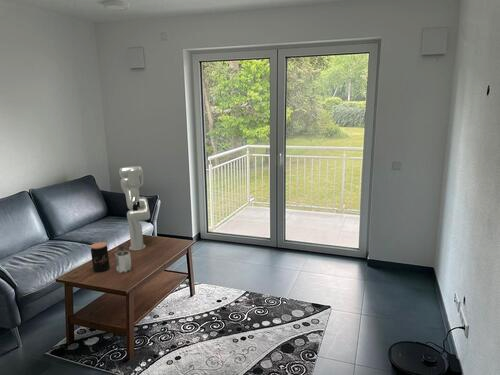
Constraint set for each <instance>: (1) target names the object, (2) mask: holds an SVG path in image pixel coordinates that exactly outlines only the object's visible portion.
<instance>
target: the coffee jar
mask: <svg viewBox="0 0 500 375" xmlns="http://www.w3.org/2000/svg"><path fill="white" fill-rule="evenodd" d="M90 254H91V262H92V269H93V271H94V272H96V273H103V272H106V271H108V270H109V269H110V259H109V258H110V257H109V251H108V243H107V242H103V241H102V242H94V243H93V244H91V245H90Z"/></svg>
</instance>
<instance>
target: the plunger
mask: <svg viewBox="0 0 500 375" xmlns="http://www.w3.org/2000/svg"><path fill="white" fill-rule="evenodd" d="M125 249H126V248H125V244H121V243H120V244H119V245H118V251H122V256H124V255H123V251H125Z"/></svg>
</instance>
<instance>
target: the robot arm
mask: <svg viewBox="0 0 500 375" xmlns="http://www.w3.org/2000/svg"><path fill="white" fill-rule="evenodd" d="M118 174H119V177H120V178H121V179H120V187H121V190H122V191H123V193H124V194H125V200H126V206H127V209H129V210H128V211H127V212H126V218H127V223H128V229H129V237H130V238H129V240H130V246H129V247H128V249H129V251H141V250H143V249H145V248H146V244H145V243H144V237H143V236H144V235H143V226H142V224H141V223H140V222H141V221H148V220H149V219H150V218H151V212H150V207H149V202H148V199H147V197H145V196H140V190H139V188H141V187H142V186H143V185H144V170H143V168H142V166H140V165H137V166H126V167H125V166H124V167H120V168H119V171H118Z"/></svg>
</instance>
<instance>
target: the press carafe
mask: <svg viewBox="0 0 500 375" xmlns="http://www.w3.org/2000/svg"><path fill="white" fill-rule="evenodd" d="M123 255H124V256H122V251H121V250H119V251H117V252H115V254H114V258H115V266H116V268H115V269H116V272H117V273H121V274H123V273H127V272H130V271H131V270H132V261H131V252H130V250H129V251H128V250H123Z"/></svg>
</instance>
